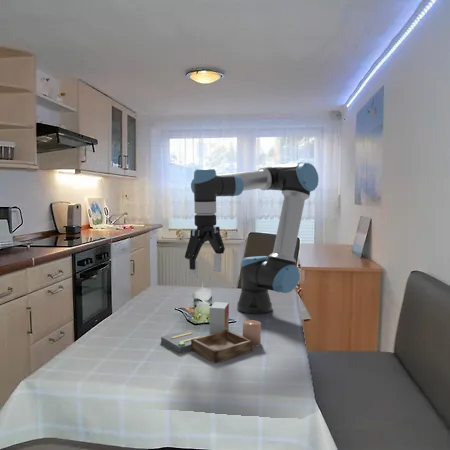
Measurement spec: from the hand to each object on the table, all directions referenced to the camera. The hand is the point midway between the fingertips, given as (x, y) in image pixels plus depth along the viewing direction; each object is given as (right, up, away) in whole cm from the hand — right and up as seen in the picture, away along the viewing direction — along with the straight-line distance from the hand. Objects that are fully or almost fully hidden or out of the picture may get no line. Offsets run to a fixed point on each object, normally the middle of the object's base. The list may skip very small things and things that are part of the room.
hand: (206, 274), depth 142 cm
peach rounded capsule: (+16, -23, -4) cm, 28 cm away
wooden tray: (+6, -23, -11) cm, 26 cm away
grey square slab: (-7, -22, -5) cm, 24 cm away
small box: (+4, -22, +5) cm, 23 cm away
